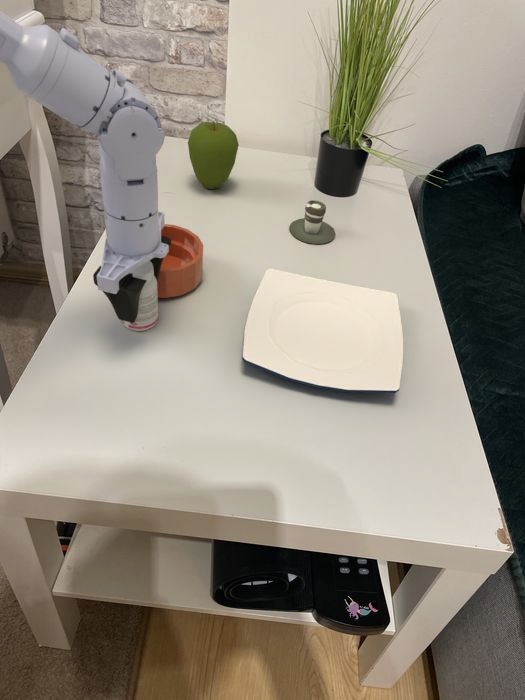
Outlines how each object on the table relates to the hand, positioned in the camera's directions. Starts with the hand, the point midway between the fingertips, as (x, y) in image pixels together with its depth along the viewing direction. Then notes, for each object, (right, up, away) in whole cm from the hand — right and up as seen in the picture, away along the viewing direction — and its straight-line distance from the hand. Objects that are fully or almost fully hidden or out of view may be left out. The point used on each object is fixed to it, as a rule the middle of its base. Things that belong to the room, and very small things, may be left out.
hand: (137, 303), depth 66 cm
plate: (+24, -4, +4) cm, 24 cm away
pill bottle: (0, -2, +2) cm, 3 cm away
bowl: (+1, +5, +9) cm, 10 cm away
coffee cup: (+24, +14, +22) cm, 35 cm away
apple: (+6, +23, +29) cm, 38 cm away
